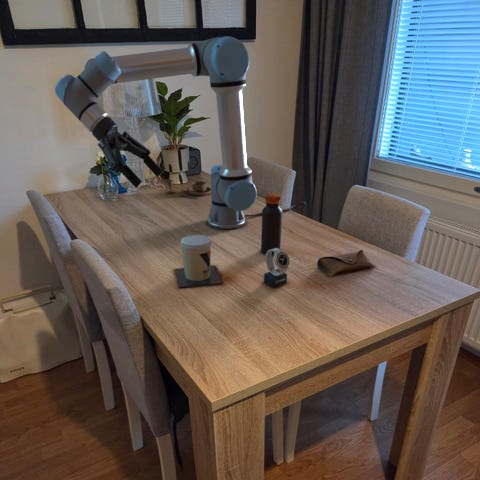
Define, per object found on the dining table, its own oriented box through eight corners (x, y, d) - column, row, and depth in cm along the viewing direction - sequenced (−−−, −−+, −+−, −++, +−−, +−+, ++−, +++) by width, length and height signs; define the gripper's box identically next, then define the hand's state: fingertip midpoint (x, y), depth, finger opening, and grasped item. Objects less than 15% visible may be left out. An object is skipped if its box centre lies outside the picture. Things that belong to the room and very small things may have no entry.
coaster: (214, 266, 147) (214, 265, 147) (221, 284, 136) (221, 282, 136) (175, 270, 145) (175, 268, 144) (179, 288, 134) (179, 286, 134)
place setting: (198, 199, 210) (197, 187, 207) (166, 192, 219) (165, 180, 216) (219, 190, 223) (219, 179, 220) (188, 184, 232) (187, 173, 229)
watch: (277, 290, 133) (278, 256, 127) (260, 280, 138) (261, 247, 133) (291, 285, 136) (293, 251, 130) (273, 275, 141) (275, 243, 135)
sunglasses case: (331, 276, 140) (327, 255, 139) (319, 278, 146) (315, 258, 146) (376, 266, 146) (372, 246, 146) (363, 269, 153) (359, 250, 152)
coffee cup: (208, 283, 136) (206, 246, 129) (178, 280, 137) (175, 244, 131) (215, 270, 143) (214, 235, 137) (187, 268, 145) (185, 233, 138)
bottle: (271, 256, 154) (274, 199, 143) (257, 251, 158) (258, 195, 147) (283, 251, 158) (287, 195, 147) (269, 246, 162) (271, 191, 151)
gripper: (116, 127, 146) (161, 177, 150) (68, 140, 126) (122, 198, 130) (128, 110, 142) (174, 162, 146) (81, 121, 122) (136, 181, 126)
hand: (149, 179), depth 138 cm, fingers open, 13 cm apart
